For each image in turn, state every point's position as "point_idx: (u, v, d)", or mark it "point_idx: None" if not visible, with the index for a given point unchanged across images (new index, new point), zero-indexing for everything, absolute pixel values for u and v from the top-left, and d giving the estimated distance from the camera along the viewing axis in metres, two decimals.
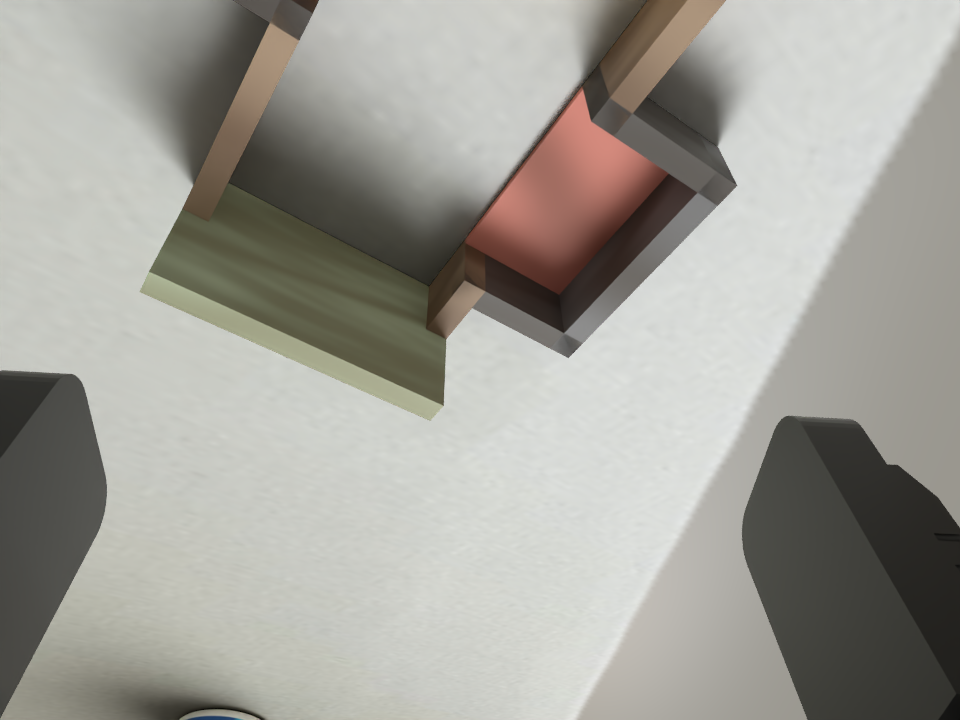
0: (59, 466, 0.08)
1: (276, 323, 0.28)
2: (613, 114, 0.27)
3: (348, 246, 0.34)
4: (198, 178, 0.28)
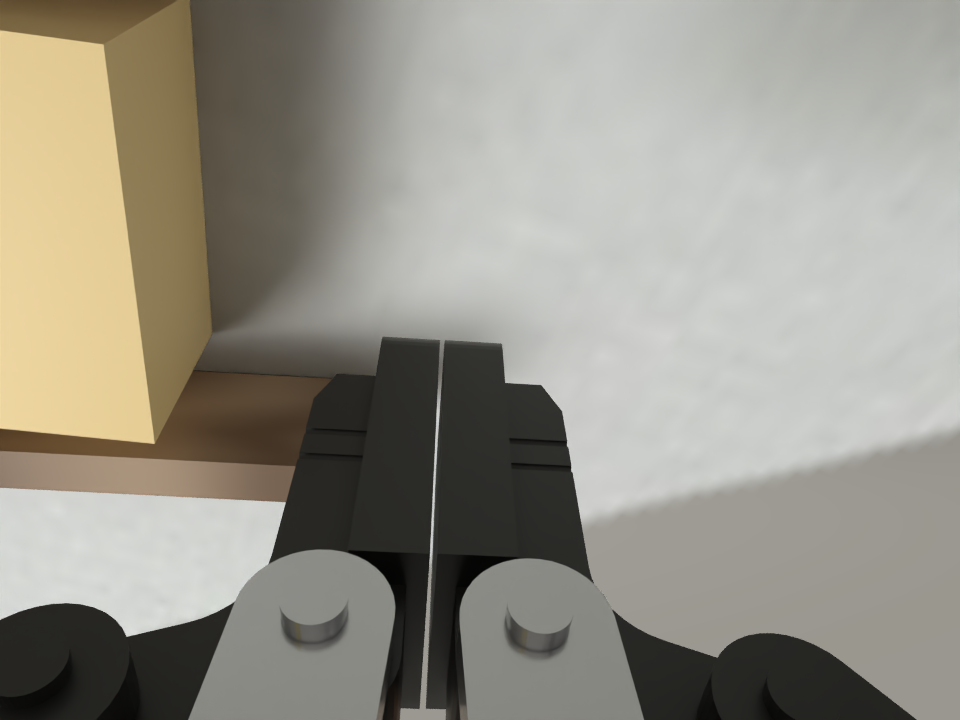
0: None
1: None
2: None
3: None
4: None
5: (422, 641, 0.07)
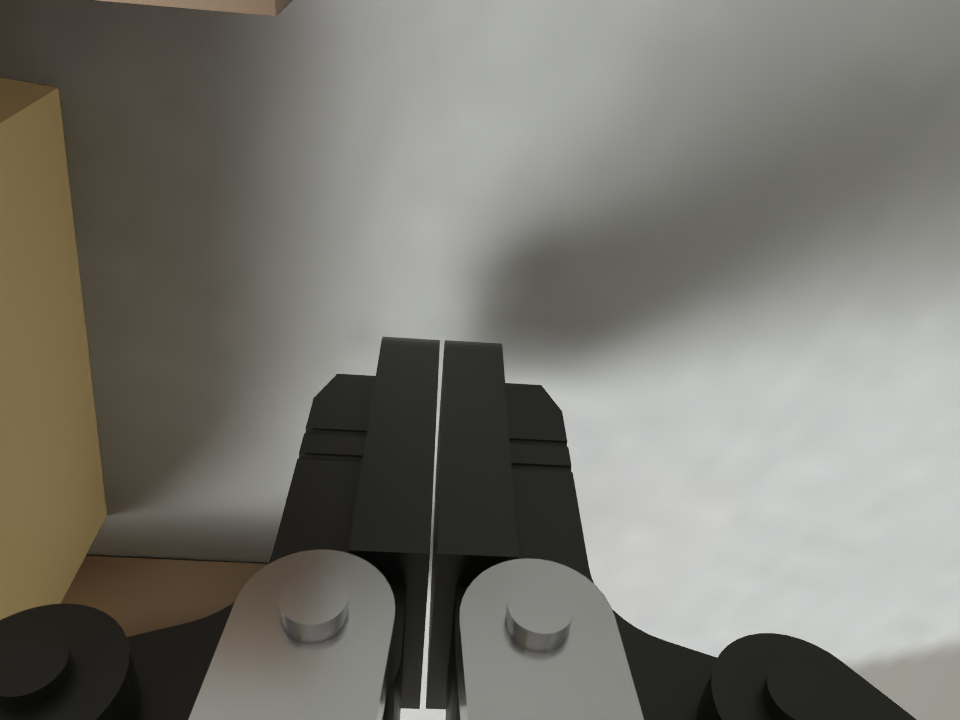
0: None
1: None
2: None
3: None
4: None
5: (422, 641, 0.07)
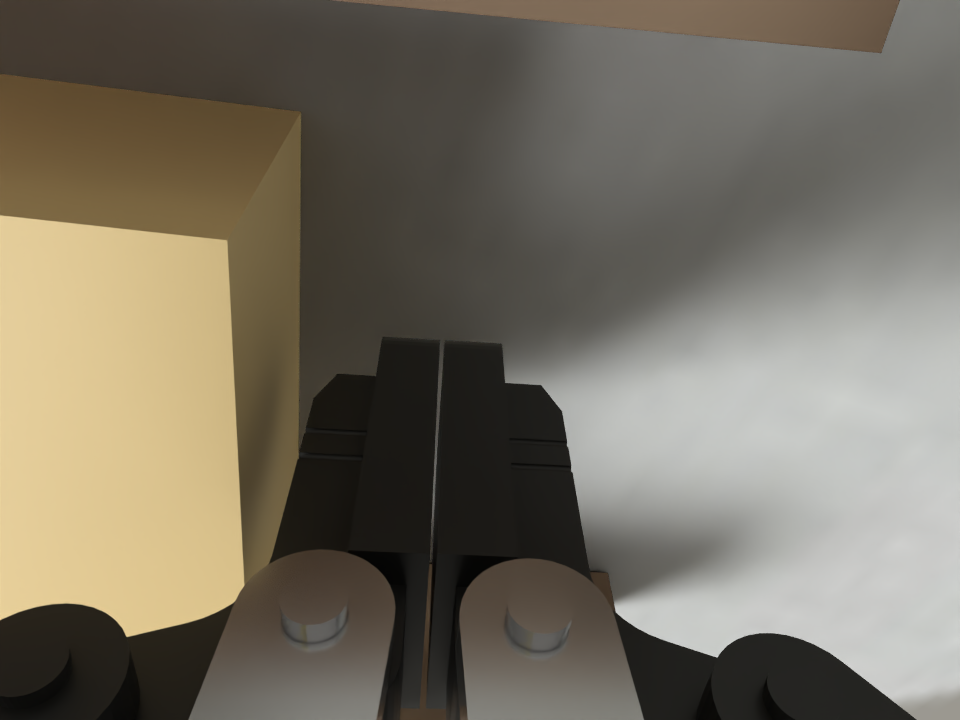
0: None
1: None
2: None
3: None
4: None
5: (422, 641, 0.07)
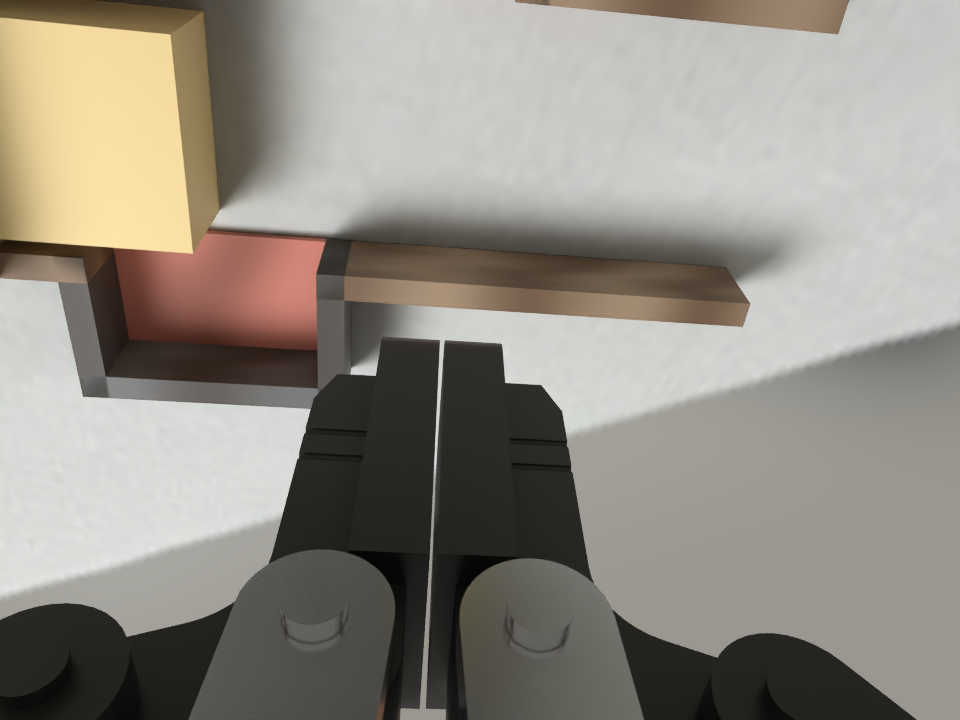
0: None
1: None
2: (333, 287, 0.28)
3: None
4: None
5: (422, 641, 0.07)
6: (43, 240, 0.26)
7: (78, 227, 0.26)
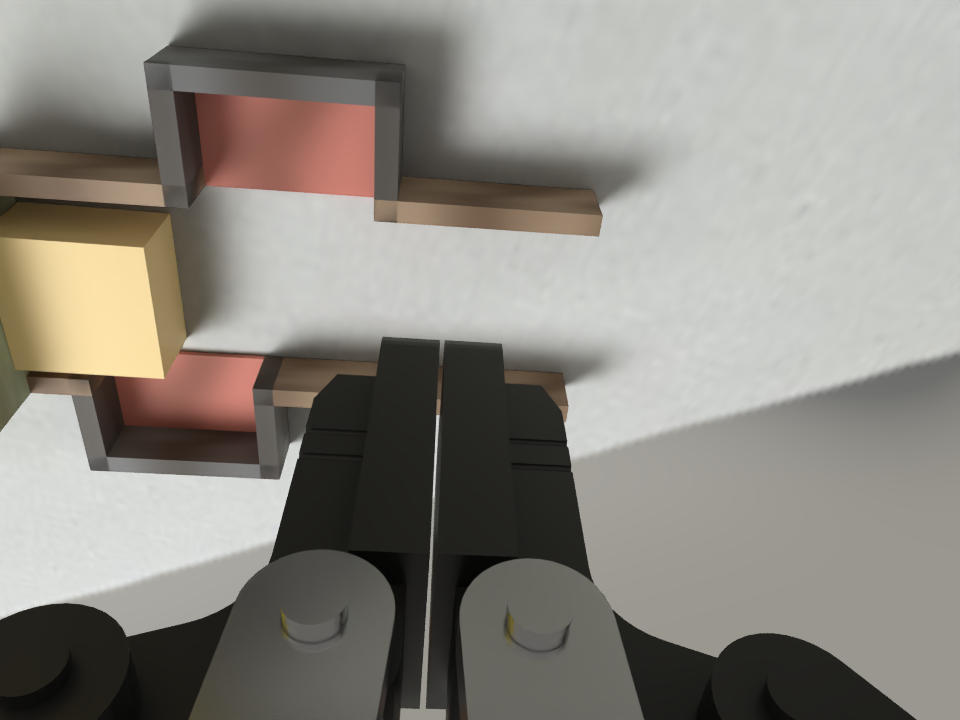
0: None
1: None
2: (265, 397, 0.40)
3: None
4: (4, 175, 0.33)
5: (422, 641, 0.07)
6: (60, 371, 0.38)
7: (85, 363, 0.38)
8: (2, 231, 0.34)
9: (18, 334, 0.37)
